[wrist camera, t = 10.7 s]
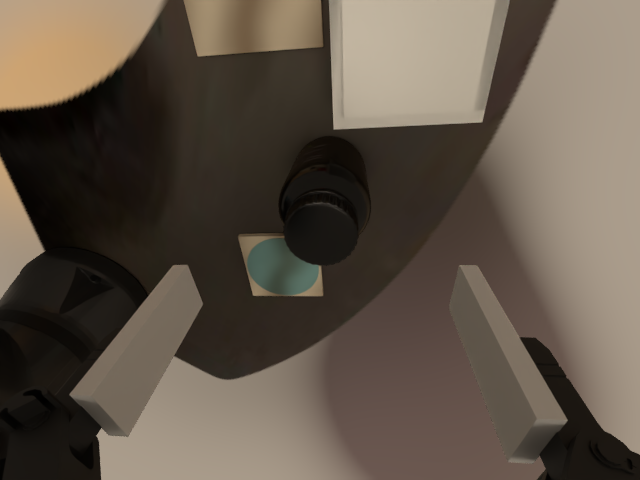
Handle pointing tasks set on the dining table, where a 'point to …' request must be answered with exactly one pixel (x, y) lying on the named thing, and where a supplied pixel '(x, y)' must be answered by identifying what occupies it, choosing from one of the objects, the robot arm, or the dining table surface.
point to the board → (254, 25)
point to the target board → (278, 267)
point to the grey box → (412, 60)
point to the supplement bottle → (325, 202)
